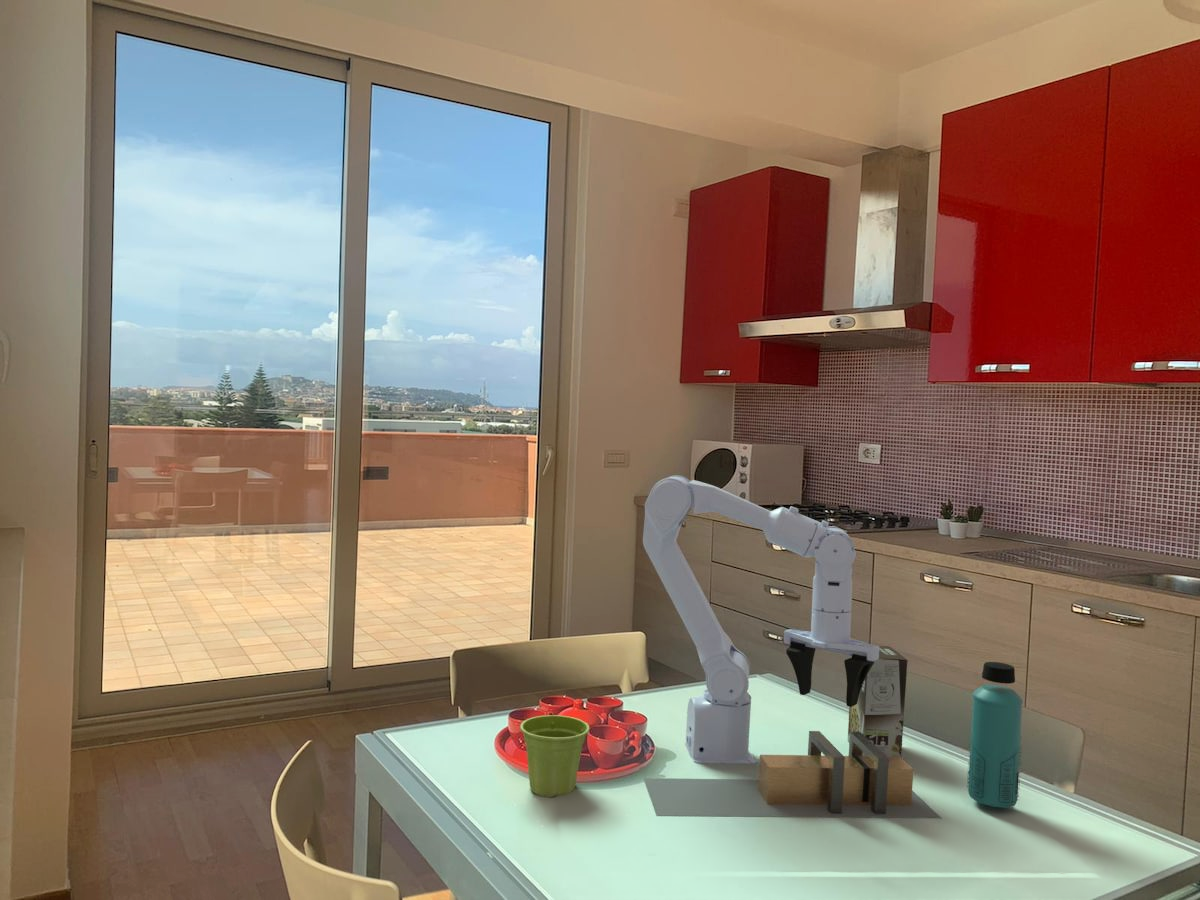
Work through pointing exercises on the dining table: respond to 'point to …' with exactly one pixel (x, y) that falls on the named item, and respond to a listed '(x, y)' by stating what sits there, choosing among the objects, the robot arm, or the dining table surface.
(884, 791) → the collar
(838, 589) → the robot arm
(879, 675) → the coffee box
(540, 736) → the plant pot
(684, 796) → the mat
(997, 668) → the beverage bottle
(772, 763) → the striped wooden beam
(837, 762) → the collar
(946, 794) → the dining table surface
